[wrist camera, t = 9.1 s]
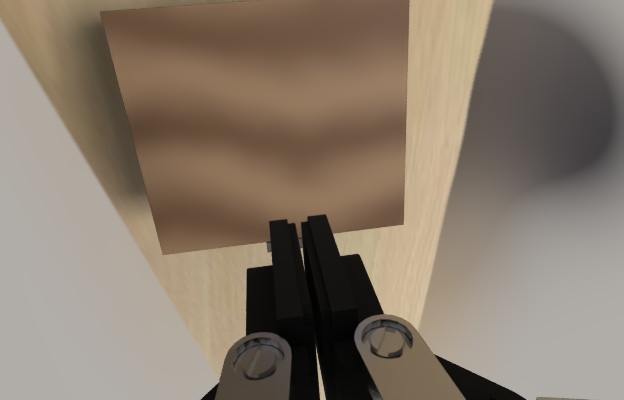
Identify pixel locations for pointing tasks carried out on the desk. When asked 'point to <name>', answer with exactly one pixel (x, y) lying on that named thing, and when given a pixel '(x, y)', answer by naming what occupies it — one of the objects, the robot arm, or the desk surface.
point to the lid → (265, 115)
